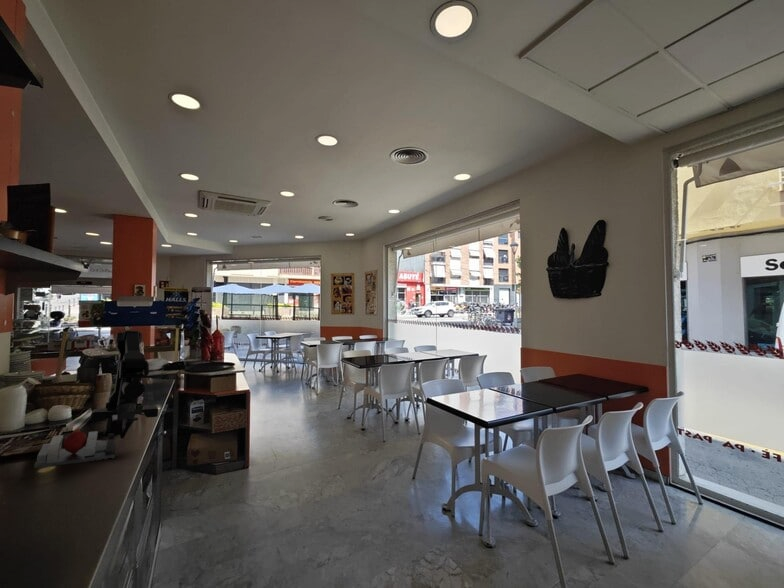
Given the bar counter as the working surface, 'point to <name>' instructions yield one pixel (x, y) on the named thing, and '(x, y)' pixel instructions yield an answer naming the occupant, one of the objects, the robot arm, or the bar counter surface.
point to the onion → (75, 441)
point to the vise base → (66, 454)
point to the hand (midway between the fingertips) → (122, 438)
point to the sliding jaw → (98, 443)
